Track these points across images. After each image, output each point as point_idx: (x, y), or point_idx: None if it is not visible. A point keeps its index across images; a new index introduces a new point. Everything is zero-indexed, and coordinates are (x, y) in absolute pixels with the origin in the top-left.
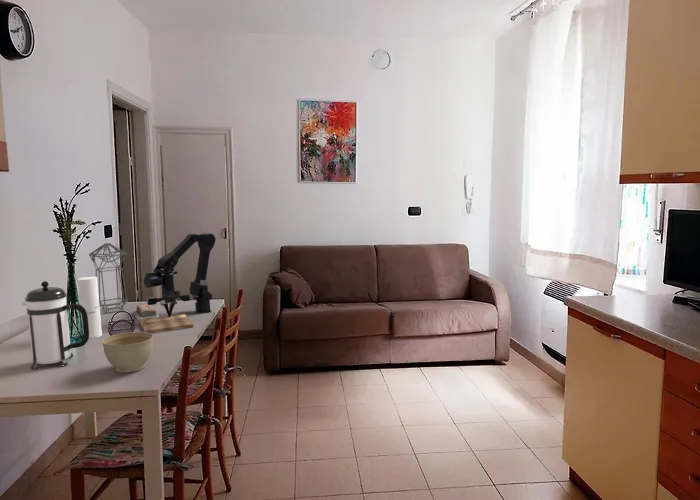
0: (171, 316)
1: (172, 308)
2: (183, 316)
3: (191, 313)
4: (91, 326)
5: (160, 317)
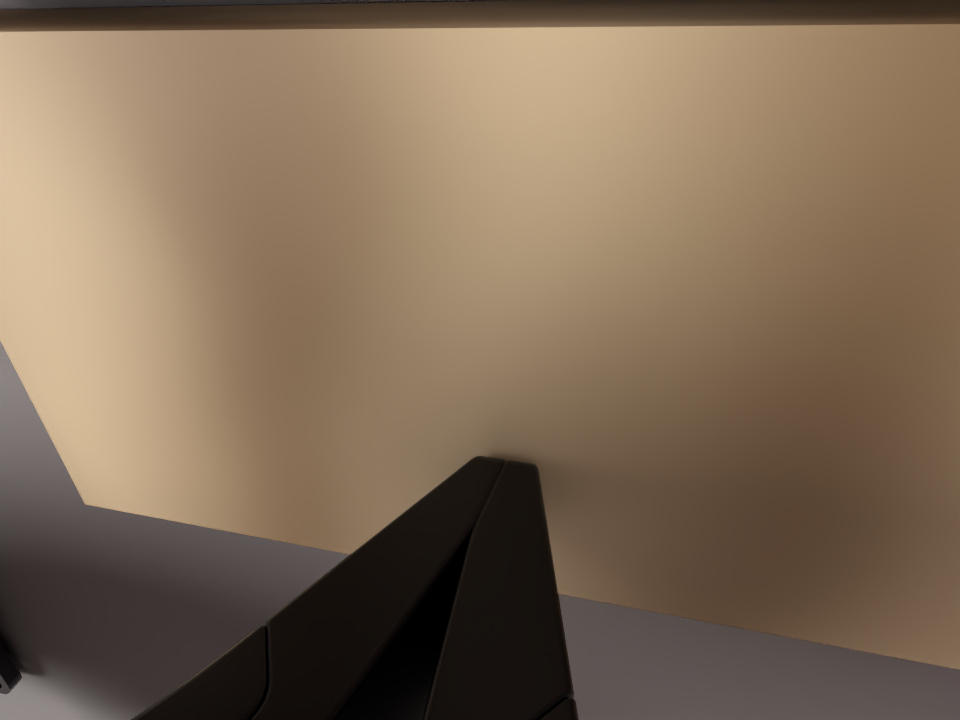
0: None
1: (182, 707)
2: (31, 227)
3: (65, 605)
4: None
5: (814, 622)
